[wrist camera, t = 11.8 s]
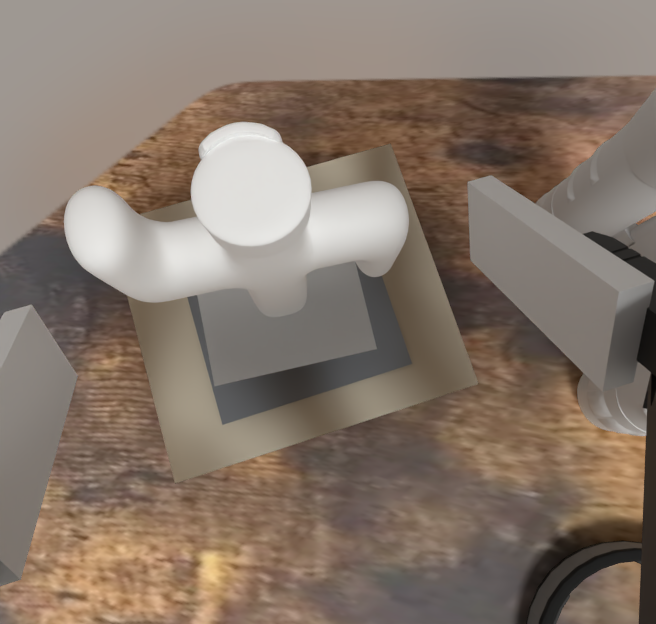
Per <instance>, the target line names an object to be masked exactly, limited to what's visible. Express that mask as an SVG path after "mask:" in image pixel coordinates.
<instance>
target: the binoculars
mask: <svg viewBox="0 0 656 624" xmlns="http://www.w3.org/2000/svg"><path fill="white" fill-rule="evenodd" d="M536 205H538V206H540V207H541V208H543V209H544V210H546V211H547V212H549V213H550V214H552V215H553V216H555V217H557V218H558V219H560V220H561V221H563V222H564V223H566V224H567V225H569V226H570V227H572V228H574V229H575V230H577V231H578V232H580V233H581V234H584V233H588V232H591V231H593V232H596V233H600V234H603V235H607V236H610V237H613V238H615V239H617V240H618V241H620V242H621V243H623V244H625V245H626V246H628V248H629V249H633V250H635V251H636V252H638V253H640V254H641V257H643V256H645V257H646V258H648V259H649V260H651V261H653V262H654V263H656V216H654V217H652V218H650V219H649V220H647V221H645V222H643V223H641V224H640V225H637V224H636V222H638V221H640V220H641V219H643V218H645V217H647V216H648V215H650V214H652V213H654V212H655V211H656V88H655V90H654V91H653V92H652V93H651V95H650V96H649V97H648V99H647V100H646V101H645V102H644V104H643V105H642V106H641V107H640V109H639V110H638V111H637V112H636V114H635V115H634V116H633V118H632V119H631V120H630V122H629V123H628V124H627V125H625V126H624V127H623V128H622V129H621V130H620V131H619V132H618V133H617V134H615V135H614V136H613V137H612V138H611V139H609V140H607V141H606V142H604V143H603V144H602V145H601V146H600V147H598V148H597V150H596V151H595V153H594V154H593V155H592V156H591V157H590V158H589V159H588V160H586V161H584V162H583V163H581V164H580V165H579V166H577V167H576V168H575V169H574V170H573V172H572V173H571V175H570V176H569V177H568V178H566V179H564V180H563V181H562V182H561V183H560V184H558V185H557V186H555V187H554V188H553V189H551V190H550V191H549V192H548V193H545V194H544V195H543V196H542V197H541V198H540V199H539V200H538V201H537V202H536ZM650 374H651V372H650V371H648V370H647V369H646V368H645V367H644V366H643V365H641V364H640V363H639V362H638V363H637V368H636V372H635V377H634V382H632V383H629V384H626V385H623V386H620V387H617V388H613V389H610V390H607V391H604V392H602V391H601V390H600V389H599V388H598V387H597V386H596V385H595V384H594V383H593V382H592V381H591V380H590V379H589V378H588V377H587V376H586V375H585V374H584V373H583V375H582V377H581V378H580V381H579V383H578V388H577V398H578V403H579V406H580V408H581V410H582V412H583V414H584V415H585V417H586V418H587V419H588V420H589V421H590V422H591V423H592V424H594V425H595V426H597V427H599V428H601V429H603V430H607V431H614V432H617V433H625V434H630V435H636V436H646V426H647V409H645V408H643V404H644V400H645V395H646V391H647V387H648V382H649V378H650Z"/></svg>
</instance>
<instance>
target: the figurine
mask: <svg viewBox="0 0 656 624" xmlns="http://www.w3.org/2000/svg"><path fill="white" fill-rule="evenodd" d="M199 156H200V159H201V161H200V163H199V164H198V166H197V168H196V170H195V172H194V176H193V179H192V183H191V201H192V205H193V208H194V211H195V213H196V215H197V217H192V218H187V219H182V220H177V221H172V222H160V221H155V220H150V219H147V218H145V217H143V216H141V215H139V214H138V213H136V212H135V211H134V210H133V209H132V208H131V207H130V206H129V205H128V204H127V203H126V202H125V201H124V200H123V199H122V198H121V197H120V196H119V195H118V194H116V193H115V192H114V191H112V190H110V189H108V188H105V187H102V186H88V187H85V188H82V189H80V190H78V191H77V192H76V193H75V194H74V195H73V196H72V197H71V198H70V200H69V201H68V204H67V206H66V210H65V215H64V229H65V235H66V240H67V243H68V245H69V248H70V250H71V252H72V254H73V256H74V257H75V259H76V260H77V261H78V263H79V264H80V265H81V266H82V267H83V268H84V269H86V270H87V271H88V272H90V273H91V274H92V275H94V276H96V277H97V278H99V279H101V280H102V281H104V282H106V283H107V284H109V285H111V286H112V287H114V288H116V289H117V290H119V291H120V292H122V293H124V294H126V295H127V296H129V297H132V298H134V299H136V300H139V301H143V302H150V303H158V302H166V301H172V300H176V299H181V298H185V297H190V296H195V295H197V297H198V302H199V308H200V313H201V318H202V323H203V328H204V334H205V339H206V344H207V349H208V355H209V360H210V365H211V370H212V376H213V381H214V386H218V385H222V384H227V383H231V382H235V381H240V380H244V379H249V378H253V377H257V376H262V375H266V374H270V373H275V372H279V371H283V370H288V369H292V368H296V367H301V366H305V365H310V364H314V363H318V362H323V361H327V360H331V359H336V358H340V357H344V356H349V355H353V354H358V353H362V352H366V351H371V350H375V349H377V347H376V343H375V339H374V335H373V331H372V327H371V323H370V319H369V315H368V311H367V307H366V303H365V299H364V295H363V291H362V287H361V283H360V279H359V275H358V271H357V267H356V264H357V266H358V267H359V269H360V270H361V271H362V272H363V273H364V274H366V275H368V276H370V277H379V276H382V275H384V274H386V273H387V272H388V271H389V270H390V268H391V267H392V265H393V263H394V261H395V260H396V258H397V256H398V254H399V253H400V251H401V249H402V247H403V245H404V243H405V241H406V237H407V233H408V227H409V214H408V209H407V205H406V202H405V199H404V197H403V195H402V194H401V192H400V191H399V190H398V189H397V188H396V187H395V186H394V185H392V184H390V183H388V182H384V181H369V182H363V183H358V184H353V185H348V186H343V187H338V188H333V189H329V190H324V191H319V192H314V193H312V187H311V179H310V176H309V172H308V170H307V168H306V166H305V164H304V162H303V160H302V159H301V158H300V157H299V155H298V154H297V153H296V152H295V151H294V150H292V149H291V148H290V147H289V146H287V145H286V144H284V143H282V139H281V136H280V134H279V133H278V132H277V131H276V130H275V129H272V128H270V127H268V126H265V125H263V124H260V123H253V122H235V123H232V124H228V125H225V126H223V127H221V128H219V129H217V130H215V131H213V132H211V133H210V134H209V135H208V136H207V137H206V138H205V139H204V140H203V141H202V142H201V144H200V146H199ZM355 262H356V263H355Z"/></svg>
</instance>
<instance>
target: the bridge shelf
mask: <svg viewBox="0 0 656 624" xmlns="http://www.w3.org/2000/svg"><path fill="white" fill-rule="evenodd" d="M306 168H307V170H308V172H309V176H310V179H311V187H312V193H314V192H319V191H324V190H329V189H333V188H338V187H343V186H348V185H353V184H358V183H363V182H369V181H384V182H388V183H390V184H392V185H394V186H395V187H396V188H397V189H398V190H399V191H400V192H401V194H402V195H403V197H404V199H405V202H406V205H407V209H408V214H409V227H408V233H407V237H406V241H405V243H404V245H403V247H402V249H401V251H400V253H399V254H398V256H397V258H396V260H395V261H394V263H393V265H392V267H391V268H390V270H389V271H388V272H387V273H386V274H384V275H382V276H379V277H370V276H368V275H366V274H364V273H363V272H362V271H361V270H360V269H359V267H358V266H357V264H356V267H357V271H358V275H359V279H360V283H361V287H362V291H363V295H364V299H365V303H366V307H367V311H368V315H369V319H370V323H371V327H372V331H373V335H374V339H375V343H376V347H377V349H375V350H371V351H366V352H362V353H358V354H353V355H349V356H344V357H340V358H336V359H331V360H327V361H323V362H318V363H314V364H310V365H305V366H301V367H296V368H292V369H288V370H283V371H279V372H275V373H270V374H266V375H262V376H257V377H253V378H249V379H244V380H240V381H235V382H231V383H227V384H222V385H218V386H214V381H213V376H212V370H211V365H210V360H209V355H208V349H207V344H206V339H205V334H204V328H203V323H202V318H201V313H200V308H199V302H198V297H197V295H195V296H190V297H185V298H181V299H176V300H172V301H166V302H158V303H150V302H143V301H139V300H136V299H134V298H132V297H129V296H127V298H128V302H129V306H130V309H131V313H132V317H133V321H134V325H135V329H136V333H137V337H138V341H139V345H140V349H141V352H142V356H143V360H144V364H145V368H146V372H147V376H148V380H149V384H150V388H151V392H152V396H153V399H154V403H155V407H156V411H157V415H158V419H159V423H160V427H161V431H162V435H163V439H164V443H165V446H166V450H167V454H168V458H169V462H170V466H171V470H172V474H173V478H174V482H175V483H178V482H181V481H185V480H188V479H191V478H194V477H197V476H200V475H203V474H206V473H209V472H212V471H215V470H218V469H221V468H224V467H227V466H230V465H233V464H236V463H239V462H242V461H245V460H248V459H251V458H255V457H258V456H261V455H264V454H267V453H270V452H273V451H276V450H279V449H282V448H285V447H288V446H291V445H294V444H297V443H300V442H303V441H306V440H309V439H312V438H315V437H318V436H321V435H324V434H328V433H331V432H334V431H337V430H340V429H343V428H346V427H349V426H352V425H355V424H358V423H361V422H364V421H367V420H370V419H373V418H376V417H379V416H382V415H385V414H388V413H391V412H394V411H398V410H401V409H404V408H407V407H410V406H413V405H416V404H419V403H422V402H425V401H428V400H431V399H434V398H437V397H440V396H443V395H446V394H449V393H452V392H455V391H458V390H461V389H464V388H467V387H471V386H474V385H477V384H478V381H477V378H476V375H475V373H474V370H473V367H472V364H471V362H470V359H469V356H468V353H467V351H466V348H465V345H464V343H463V340H462V337H461V334H460V332H459V329H458V326H457V323H456V321H455V318H454V315H453V312H452V310H451V307H450V304H449V302H448V299H447V296H446V293H445V291H444V288H443V285H442V282H441V280H440V277H439V274H438V272H437V269H436V266H435V263H434V261H433V258H432V255H431V252H430V250H429V247H428V244H427V241H426V239H425V236H424V233H423V231H422V228H421V225H420V222H419V220H418V217H417V214H416V211H415V209H414V206H413V203H412V200H411V198H410V195H409V192H408V190H407V187H406V184H405V181H404V179H403V176H402V173H401V170H400V168H399V165H398V162H397V159H396V157H395V154H394V151H393V149H392V146H391V144H388V145H384V146H380V147H377V148H373V149H370V150H366V151H363V152H359V153H356V154H352V155H348V156H345V157H341V158H338V159H334V160H331V161H327V162H324V163H320V164H316V165H313V166H309V167H306ZM139 215H141V216H143V217H145V218H147V219H150V220H155V221H160V222H172V221H177V220H182V219H187V218H192V217H197V215H196V213H195V211H194V208H193V205H192V201H191V200H189V201H185V202H181V203H178V204H174V205H171V206H167V207H164V208H160V209H157V210H153V211H149V212H146V213H142V214H139ZM355 263H356V262H355Z"/></svg>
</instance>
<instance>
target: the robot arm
mask: <svg viewBox="0 0 656 624" xmlns="http://www.w3.org/2000/svg"><path fill="white" fill-rule="evenodd" d="M468 209H469V236H470V260H471V261H472V262H473V263H474V264H475V265H476V266H477V267H478V268H479V269H480V270H481V271H482V272H483V273H484V274H485V275H486V276H487V277H488V278H489V279H490V280H491V281H492V282H493V283H494V284H495V285H496V286H497V287H498V288H499V289H500V290H501V291H502V292H503V293H504V294H505V295H506V296H507V297H508V298H509V299H510V300H511V301H512V302H513V303H514V304H515V305H516V306H517V307H518V308H519V309H520V310H521V311H522V312H523V313H524V314H525V315H526V316H527V317H528V318H529V319H530V320H531V321H532V322H533V323H534V324H535V325H536V326H537V327H538V328H539V329H540V330H541V331H542V332H543V333H544V334H545V335H546V336H547V337H548V338H549V339H550V340H551V341H552V342H553V343H554V344H555V345H556V346H557V347H558V348H559V349H560V350H561V351H562V352H563V353H564V354H565V355H566V356H567V357H568V358H569V359H570V360H571V361H572V362H573V363H574V364H575V365H576V366H577V367H578V368H579V369H580V370H581V371H582V372H583V373H584V374H585V375H586V376H587V377H588V378H589V379H590V380H591V381H592V382H593V383H594V384H595V385H596V386H597V387H598V388H599V389H600V390H601V391H602V392H604V391H607V390H610V389H613V388H617V387H620V386H623V385H626V384H629V383H632V382H634V377H635V372H636V368H637V363H638V362H639V363H640V364H641V365H643V366H644V367H645V368H646V369H647V370H648V371H650V372H651V374H650V378H649V382H648V387H647V391H646V395H645V400H644V404H643V408H645V409H647V426H646V452H645V478H644V503H643V529H642V555H641V581H640V606H639V624H656V263H654V262H653V261H651V260H649V259H648V258H646V257H645V256H643V257H641V254H640V253H638V252H636V251H635V250H633V249H629V248H628V246H626V245H625V244H623V243H621V242H620V241H618V240H617V239H615V238H613V237H610V236H607V235H603V234H600V233H596V232H593V231H591V232H588V233H584V234H581V233H580V232H578V231H577V230H575V229H574V228H572V227H570V226H569V225H567V224H566V223H564V222H563V221H561V220H560V219H558V218H557V217H555V216H553V215H552V214H550V213H549V212H547V211H546V210H544V209H543V208H541V207H540V206H538V205H536V204H535V203H533V202H532V201H530V200H529V199H527V198H526V197H524V196H522V195H521V194H519V193H518V192H516V191H515V190H513V189H512V188H510V187H509V186H507V185H505V184H504V183H502V182H501V181H499V180H498V179H496V178H495V177H493V176H492V175H490V176H487V177H483V178H480V179H476V180H473V181H469V182H468ZM77 377H78V375H77V374H76V372H75V371H74V369H73V368H72V366H71V365H70V363H69V361H68V360H67V358H66V357H65V355H64V354H63V352H62V351H61V349H60V348H59V346H58V344H57V343H56V341H55V340H54V338H53V337H52V335H51V334H50V332H49V331H48V329H47V327H46V326H45V324H44V323H43V321H42V320H41V318H40V317H39V315H38V314H37V312H36V310H35V309H34V307H33V306H32V305H29V306H25V307H22V308H18V309H14V310H11V311H7V312H4V314H3V316H2V318H1V319H0V586H2V585H5V584H8V583H11V582H14V581H18V580H21V576H22V573H23V569H24V566H25V562H26V559H27V555H28V551H29V548H30V544H31V541H32V537H33V534H34V530H35V527H36V523H37V519H38V516H39V512H40V509H41V505H42V502H43V498H44V494H45V491H46V487H47V484H48V480H49V477H50V473H51V469H52V466H53V462H54V459H55V455H56V452H57V448H58V444H59V441H60V437H61V434H62V430H63V427H64V423H65V420H66V416H67V412H68V409H69V405H70V402H71V398H72V395H73V391H74V387H75V384H76V380H77Z"/></svg>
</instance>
